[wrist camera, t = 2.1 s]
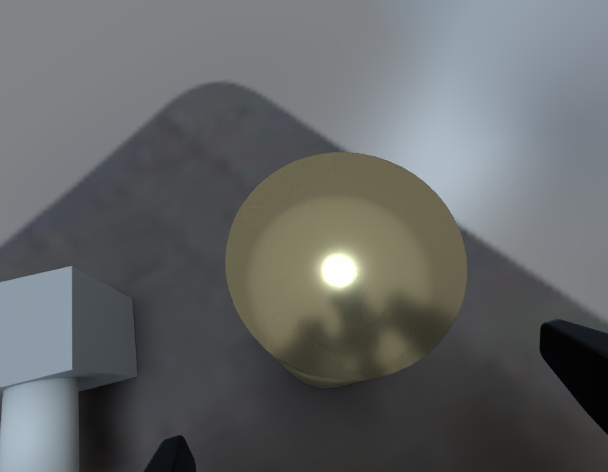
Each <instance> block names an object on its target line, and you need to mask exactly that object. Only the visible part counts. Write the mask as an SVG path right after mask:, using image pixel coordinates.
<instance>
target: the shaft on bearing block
mask: <svg viewBox="0 0 608 472" xmlns="http://www.w3.org/2000/svg"><path fill="white" fill-rule="evenodd" d="M134 377H138V374H137V360H136V345H135V330H134V315H133V300H132V298H130V297H128V296H126V295H124V294H123V293H121V292H119V291H117V290H115V289H113V288H112V287H110V286H108V285H106V284H104V283H102V282H100V281H99V280H97V279H95V278H93V277H91V276H89V275H87V274H86V273H84V272H82V271H80V270H78V269H76V268H75V267H73V266H70V267H66V268H61V269H57V270H52V271H48V272H44V273H39V274H35V275H31V276H26V277H22V278H18V279H13V280H9V281H4V282H0V398H3V400H2V415H1V431H0V472H79V396H78V392H79V391H83V390H87V389H91V388H95V387H99V386H103V385H107V384H111V383H114V382H118V381H122V380H126V379H130V378H134Z"/></svg>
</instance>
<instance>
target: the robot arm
mask: <svg viewBox="0 0 608 472" xmlns="http://www.w3.org/2000/svg"><path fill="white" fill-rule="evenodd" d="M540 353H541V355H542V357H543V359H544V360H545V361H546V363H547V364H548V365H549V366H550V368H551V369H552V370H553V371H554V373H555V374H556V375H557V376H558V378H559V379H560V380H561V381H562V383H563V384H564V385H565V386H566V388H567V389H568V390H569V391H570V393H571V394H572V395H573V396H574V398H575V399H576V400H577V401H578V403H579V404H580V405H581V406H582V407H583V409H584V410H585V411H586V412H587V413H588V414H589V415H590V417H591V418H592V419H593V420H594V421H595V422H596V423H597V424H598V425H599V426H600V427H601V428H602V429H603V430H604V431H605V433H606V434H607V435H608V333H604V332H601V331H598V330H594V329H591V328H588V327H584V326H581V325H578V324H574V323H571V322H568V321H564V320H561V319H555V320H552V321H549V322H545V323H543V324H542V326H541V328H540ZM143 472H196V465H195V460H194V457H193V455H192V453H191V451H190V449H189V447H188V445H187V443H186V440H185V439H184V437H183V436H181V435H178V436H175V437H172V438H169V439H166V440H164V441H163V442H162V443H161V445H160V446H159V448H158V449H157V451H156V452H155V454H154V456H153V457H152V459H151V460H150V462H149V463H148V465H147V467H146V468H145V470H144V471H143Z"/></svg>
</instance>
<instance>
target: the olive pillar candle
mask: <svg viewBox="0 0 608 472" xmlns="http://www.w3.org/2000/svg"><path fill="white" fill-rule="evenodd" d="M225 264H226V277H227V282H228V288H229V292H230V295H231V298H232V301H233V303H234V306H235V308H236V310H237V312H238V314H239V316H240V318H241V320H242V321H243V323H244V324H245V326H246V327H247V328H248V330H249V331H250V333H251V334H252V335H253V336H254V337H255V338H256V339H257V340H258V342H259V343H260V344H261V345H262V346H263V347H264V348H265V349H266V350H267V351H268V352H269V353H270V354H271V355H272V356H273V357H274V358H276V359H277V360H278V361H279V362H280V363H281V364H282V365H283V366H284V367H285V368H286V369H287V370H288V371H289V372H290V373H291V374H292V375H293V376H294V377H295V378H297V379H298V380H299V381H301V382H303V383H304V384H307V385H309V386H312V387H315V388H322V389H330V388H336V387H341V386H345V385H349V384H353V383H357V382H362V381H366V380H370V379H374V378H378V377H382V376H385V375H389V374H392V373H395V372H397V371H399V370H402V369H404V368H406V367H408V366H410V365H412V364H413V363H415V362H416V361H418V360H419V359H421V358H422V357H424V356H425V355H426V354H427V353H429V352H430V351H431V350H432V349H433V348H434V347H435V346H436V345H437V344H438V343H439V342H440V341H441V340H442V338H443V337H444V336H445V335H446V334H447V332H448V331H449V329H450V327H451V326H452V324H453V322H454V321H455V319H456V317H457V314H458V312H459V310H460V307H461V305H462V301H463V297H464V293H465V290H466V280H467V258H466V253H465V247H464V243H463V240H462V236H461V233H460V230H459V228H458V226H457V224H456V222H455V220H454V217H453V216H452V214H451V213H450V211H449V209H448V208H447V206H446V205H445V204H444V202H443V201H442V200H441V198H440V197H439V196H438V195H437V194H436V193H435V192H434V191H433V190H432V189H431V188H430V187H429V186H428V185H427V184H426V183H425V182H424V181H422V180H421V179H420V178H418V177H417V176H416V175H414V174H413V173H411V172H409V171H408V170H406V169H404V168H403V167H401V166H399V165H396V164H394V163H392V162H390V161H387V160H384V159H381V158H378V157H375V156H369V155H365V154H359V153H349V152H338V153H326V154H318V155H314V156H310V157H306V158H303V159H300V160H298V161H295V162H292V163H290V164H288V165H286V166H284V167H282V168H280V169H279V170H277V171H276V172H274V173H273V174H271V175H270V176H268V177H267V178H266V179H265V180H264V181H263V182H261V183H260V184H259V185H258V186H257V187H256V188H255V189H254V190H253V191H252V193H251V194H250V195H249V196H248V197H247V199H246V200H245V202H244V203H243V205H242V206H241V208H240V210H239V211H238V213H237V215H236V217H235V219H234V222H233V225H232V227H231V230H230V233H229V237H228V242H227V247H226V259H225Z"/></svg>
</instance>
